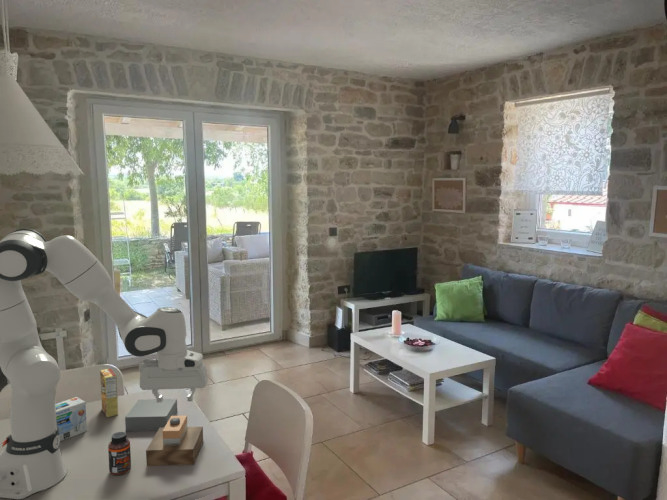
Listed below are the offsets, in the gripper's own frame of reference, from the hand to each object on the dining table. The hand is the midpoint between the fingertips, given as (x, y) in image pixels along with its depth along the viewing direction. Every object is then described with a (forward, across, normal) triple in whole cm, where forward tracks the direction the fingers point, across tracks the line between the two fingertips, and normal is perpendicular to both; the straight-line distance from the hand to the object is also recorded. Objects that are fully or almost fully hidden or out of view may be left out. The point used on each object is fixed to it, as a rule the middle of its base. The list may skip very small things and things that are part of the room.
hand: (175, 401), depth 152 cm
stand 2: (+17, 0, 0) cm, 17 cm away
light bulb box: (+17, -40, +14) cm, 46 cm away
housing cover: (+10, 0, 0) cm, 10 cm away
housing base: (+12, 0, 0) cm, 12 cm away
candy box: (+17, -33, +30) cm, 47 cm away
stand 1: (+17, -14, +22) cm, 31 cm away
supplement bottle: (+17, -14, -9) cm, 24 cm away
